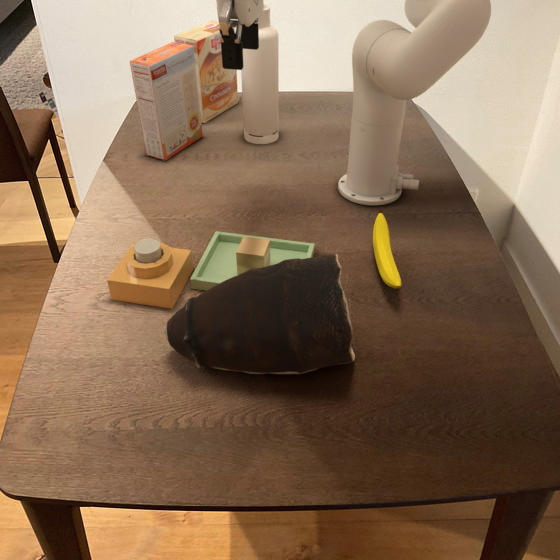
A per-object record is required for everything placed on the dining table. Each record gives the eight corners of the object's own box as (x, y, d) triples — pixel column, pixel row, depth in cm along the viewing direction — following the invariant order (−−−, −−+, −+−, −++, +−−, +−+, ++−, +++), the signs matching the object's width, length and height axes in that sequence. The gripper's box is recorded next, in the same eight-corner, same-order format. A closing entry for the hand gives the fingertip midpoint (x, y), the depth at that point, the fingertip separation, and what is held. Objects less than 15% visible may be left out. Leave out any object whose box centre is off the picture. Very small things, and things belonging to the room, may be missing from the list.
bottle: (238, 132, 136) (232, 5, 118) (270, 126, 139) (268, 0, 121) (252, 146, 130) (247, 14, 113) (284, 140, 133) (285, 10, 115)
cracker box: (183, 131, 137) (173, 40, 123) (204, 137, 134) (195, 44, 121) (143, 155, 127) (127, 59, 114) (165, 162, 125) (151, 64, 112)
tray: (314, 252, 99) (314, 243, 98) (299, 304, 89) (299, 294, 88) (216, 240, 102) (215, 230, 101) (191, 288, 92) (189, 278, 91)
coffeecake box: (204, 124, 140) (197, 40, 128) (181, 117, 143) (172, 35, 130) (239, 103, 150) (235, 23, 137) (217, 97, 153) (211, 19, 140)
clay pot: (151, 260, 78) (333, 226, 76) (185, 328, 89) (345, 301, 87) (140, 348, 68) (350, 312, 66) (180, 413, 79) (361, 384, 77)
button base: (193, 269, 96) (190, 239, 92) (172, 309, 88) (167, 278, 84) (137, 261, 98) (131, 232, 94) (111, 299, 90) (104, 269, 86)
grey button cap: (165, 250, 91) (164, 239, 89) (156, 265, 88) (154, 255, 86) (142, 247, 91) (140, 236, 90) (131, 262, 88) (129, 251, 87)
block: (270, 261, 97) (270, 239, 94) (264, 278, 93) (263, 255, 90) (244, 258, 97) (243, 236, 95) (237, 274, 94) (235, 252, 91)
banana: (384, 311, 88) (389, 278, 84) (368, 238, 103) (371, 208, 98) (403, 310, 88) (409, 278, 84) (384, 238, 103) (388, 208, 99)
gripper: (245, -53, 74) (250, 79, 85) (275, -74, 87) (276, 43, 98) (190, -55, 76) (202, 75, 86) (227, -76, 89) (233, 40, 100)
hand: (241, 58), depth 92 cm, fingers open, 9 cm apart
